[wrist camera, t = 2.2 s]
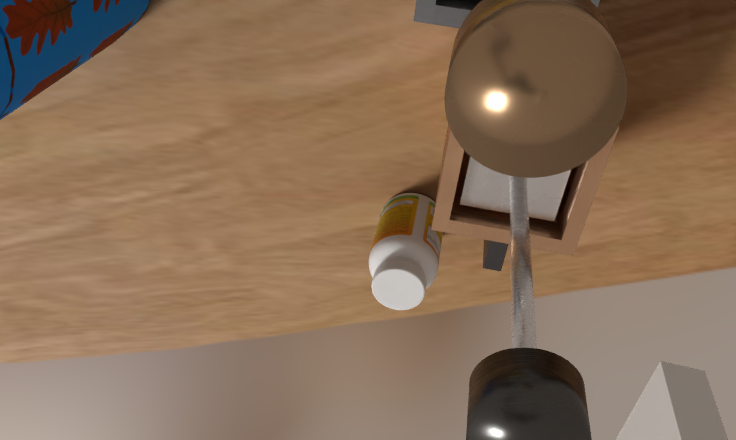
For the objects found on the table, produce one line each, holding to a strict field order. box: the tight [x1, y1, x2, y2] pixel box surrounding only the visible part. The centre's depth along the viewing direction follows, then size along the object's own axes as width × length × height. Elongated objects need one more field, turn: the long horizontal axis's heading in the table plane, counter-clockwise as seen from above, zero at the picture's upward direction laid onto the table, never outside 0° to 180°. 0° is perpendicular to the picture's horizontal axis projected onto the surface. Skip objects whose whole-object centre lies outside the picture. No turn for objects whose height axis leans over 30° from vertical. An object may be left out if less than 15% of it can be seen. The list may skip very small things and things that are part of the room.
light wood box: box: [431, 125, 619, 271], centre depth 45 cm, size 12×9×12 cm
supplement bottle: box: [369, 193, 443, 310], centre depth 52 cm, size 5×5×10 cm
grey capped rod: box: [460, 156, 592, 440], centre depth 32 cm, size 6×6×21 cm
